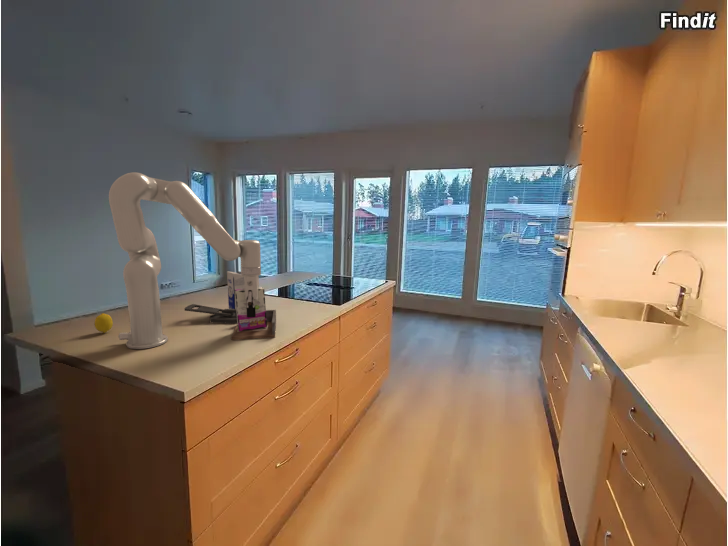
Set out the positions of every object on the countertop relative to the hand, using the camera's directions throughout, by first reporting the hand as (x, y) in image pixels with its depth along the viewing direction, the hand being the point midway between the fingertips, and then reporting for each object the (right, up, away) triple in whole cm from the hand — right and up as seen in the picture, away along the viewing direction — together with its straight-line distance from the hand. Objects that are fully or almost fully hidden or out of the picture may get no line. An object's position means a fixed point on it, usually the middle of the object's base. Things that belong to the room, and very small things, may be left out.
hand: (252, 314), depth 132 cm
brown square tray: (+1, -7, +2) cm, 7 cm away
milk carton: (-17, -2, +30) cm, 35 cm away
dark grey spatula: (-21, -5, +14) cm, 26 cm away
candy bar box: (0, -6, +1) cm, 6 cm away
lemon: (-56, -7, -5) cm, 57 cm away
